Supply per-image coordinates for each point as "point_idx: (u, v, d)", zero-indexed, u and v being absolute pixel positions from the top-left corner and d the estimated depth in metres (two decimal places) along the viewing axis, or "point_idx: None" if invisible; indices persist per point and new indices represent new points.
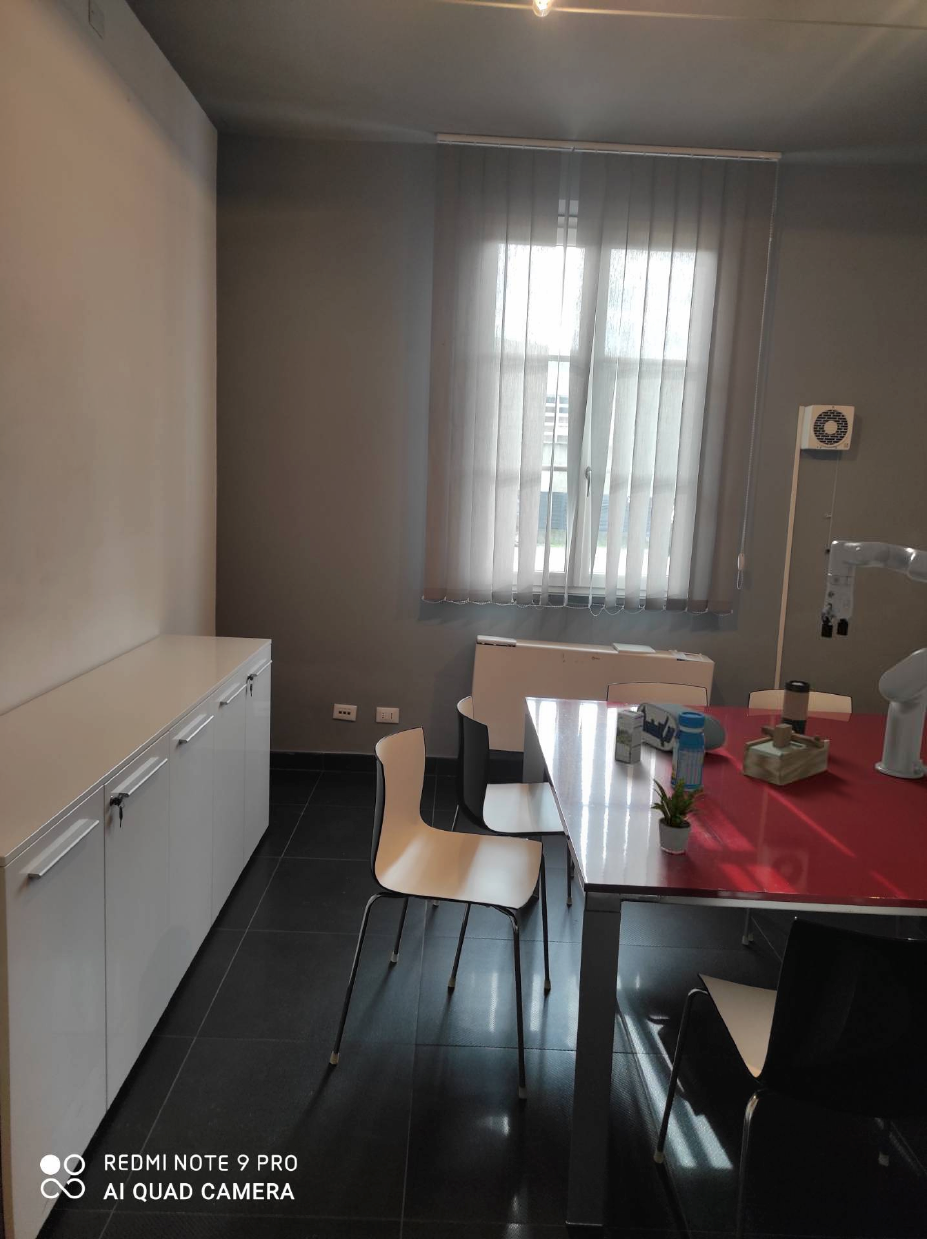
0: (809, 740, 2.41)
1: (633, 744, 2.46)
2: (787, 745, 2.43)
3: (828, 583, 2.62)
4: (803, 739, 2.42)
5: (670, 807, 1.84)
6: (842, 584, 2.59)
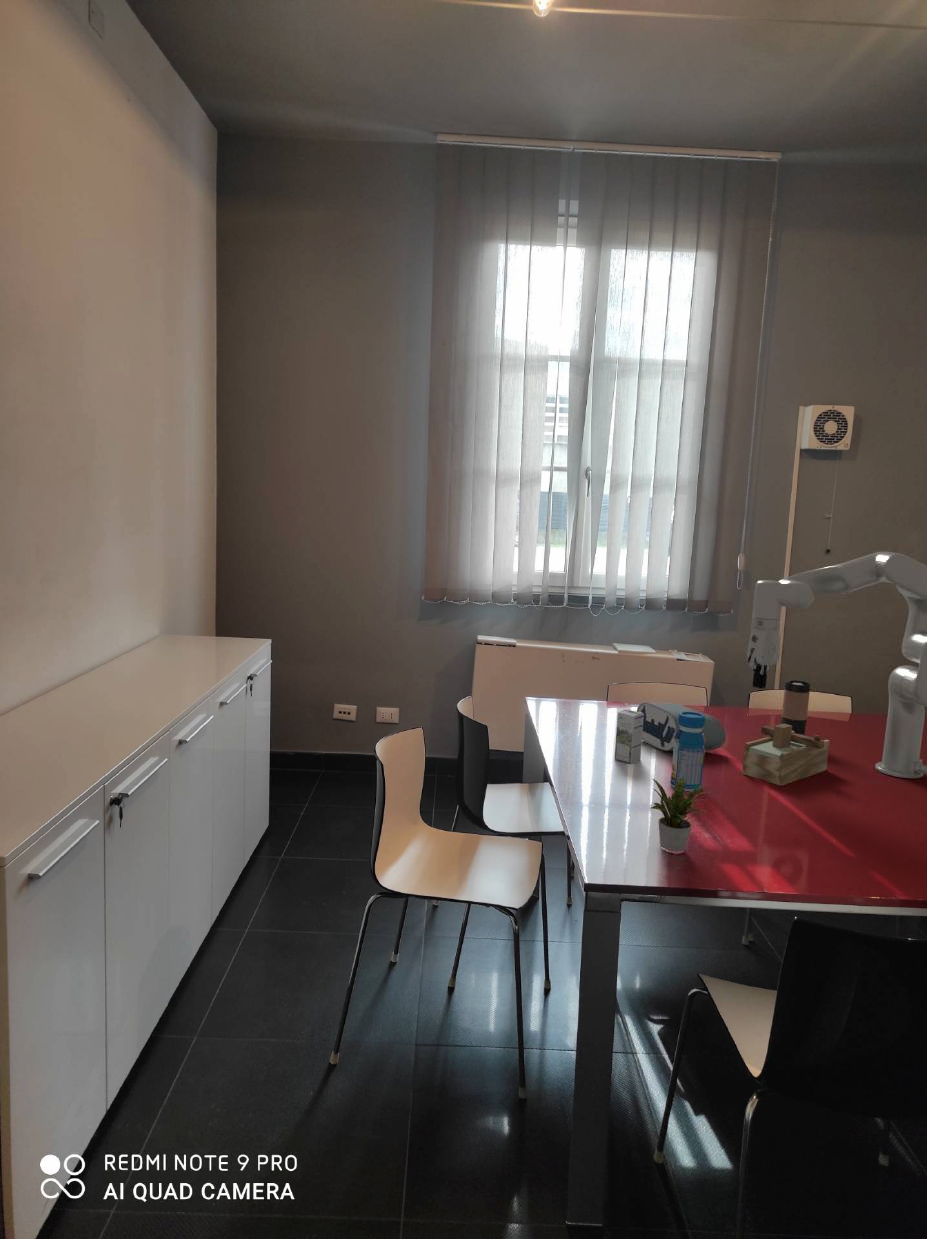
0: (809, 740, 2.41)
1: (633, 744, 2.46)
2: (787, 745, 2.43)
3: (752, 626, 2.42)
4: (803, 739, 2.42)
5: (670, 807, 1.84)
6: (766, 628, 2.39)
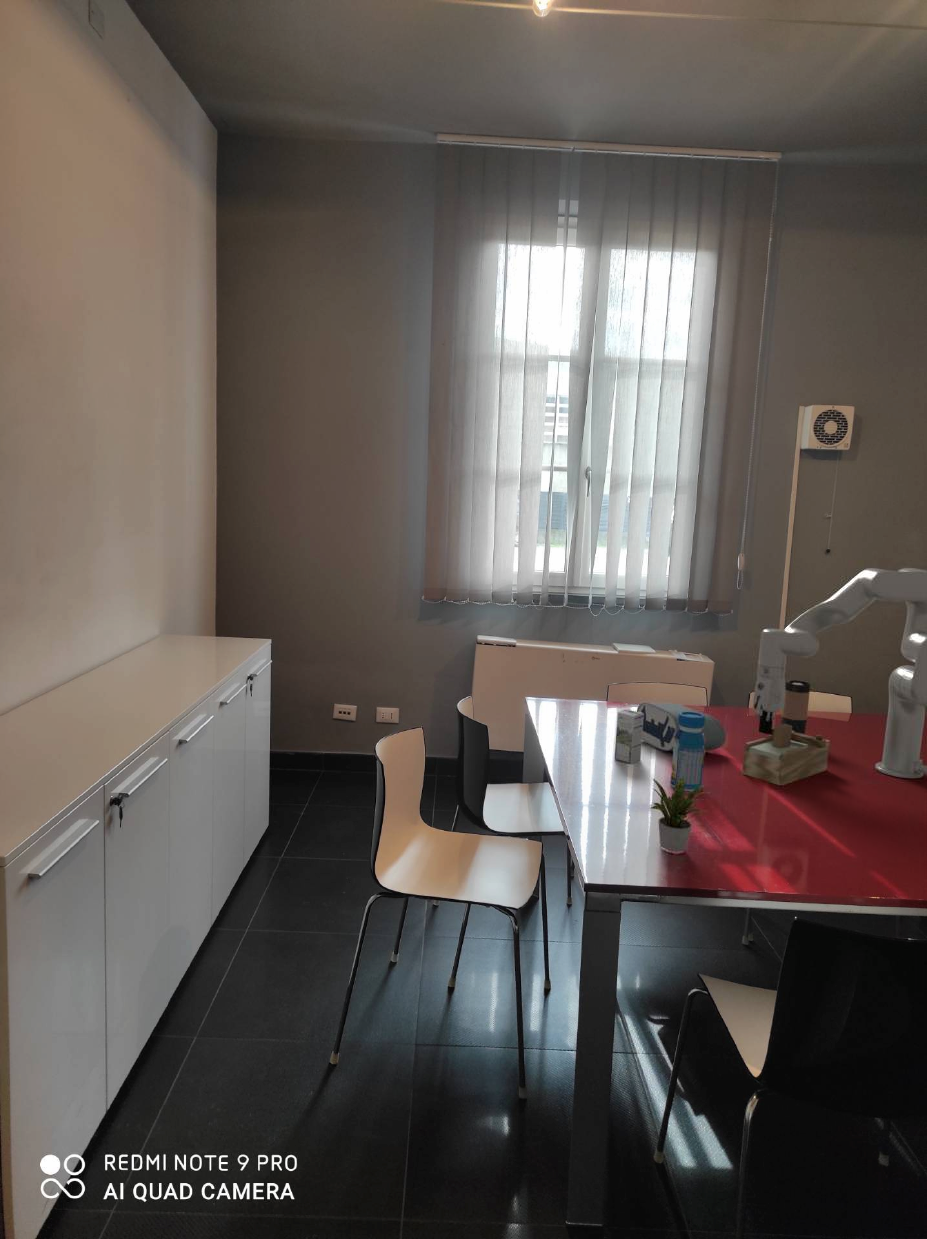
0: (811, 739, 2.42)
1: (633, 744, 2.46)
2: (787, 745, 2.43)
3: (758, 674, 2.48)
4: (805, 738, 2.43)
5: (670, 807, 1.84)
6: (772, 676, 2.45)
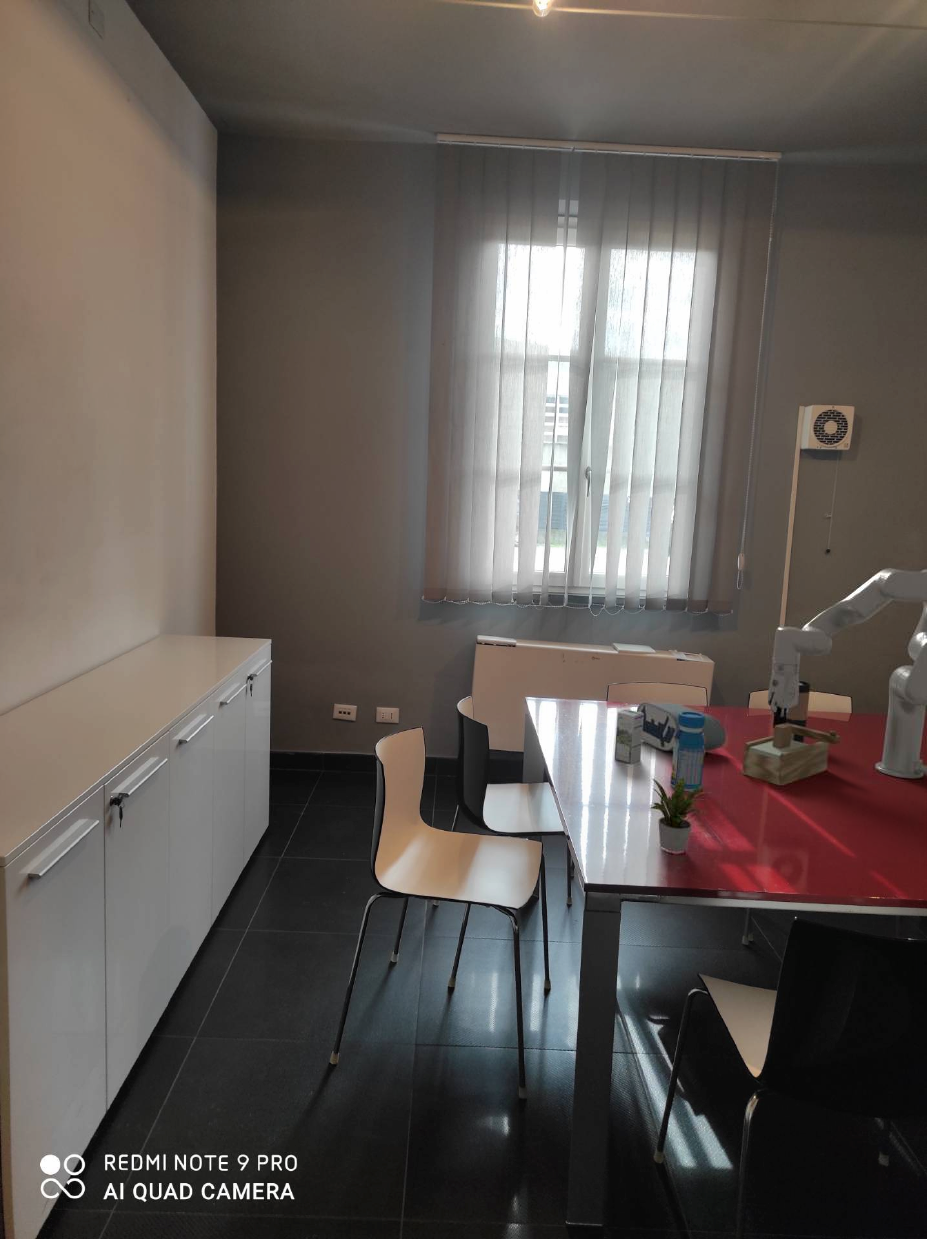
0: (825, 735, 2.47)
1: (633, 744, 2.46)
2: (787, 745, 2.43)
3: (772, 671, 2.53)
4: (819, 734, 2.48)
5: (670, 807, 1.84)
6: (786, 673, 2.50)
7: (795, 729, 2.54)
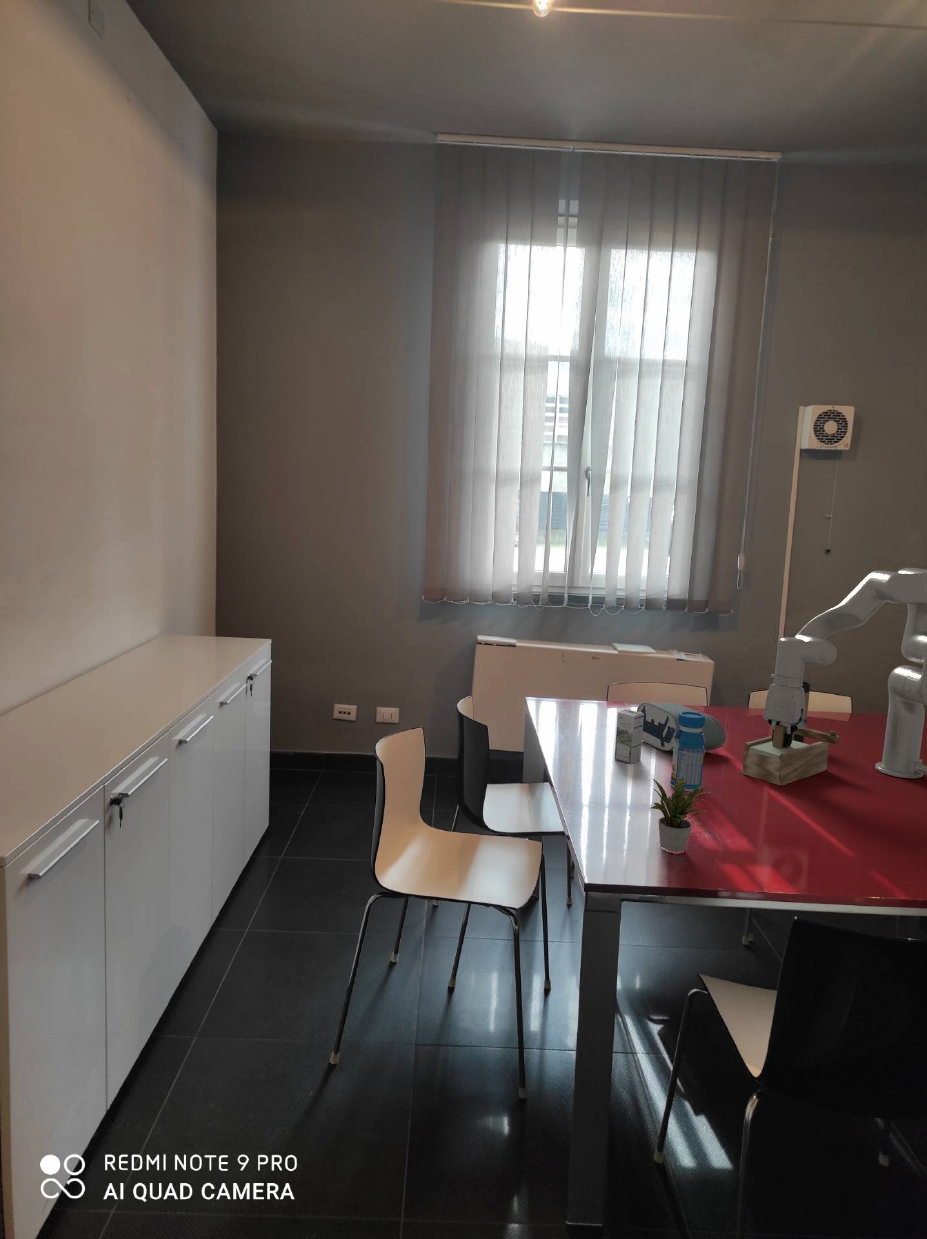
0: (825, 735, 2.47)
1: (633, 744, 2.46)
2: None
3: None
4: (819, 734, 2.48)
5: (670, 807, 1.84)
6: None
7: None
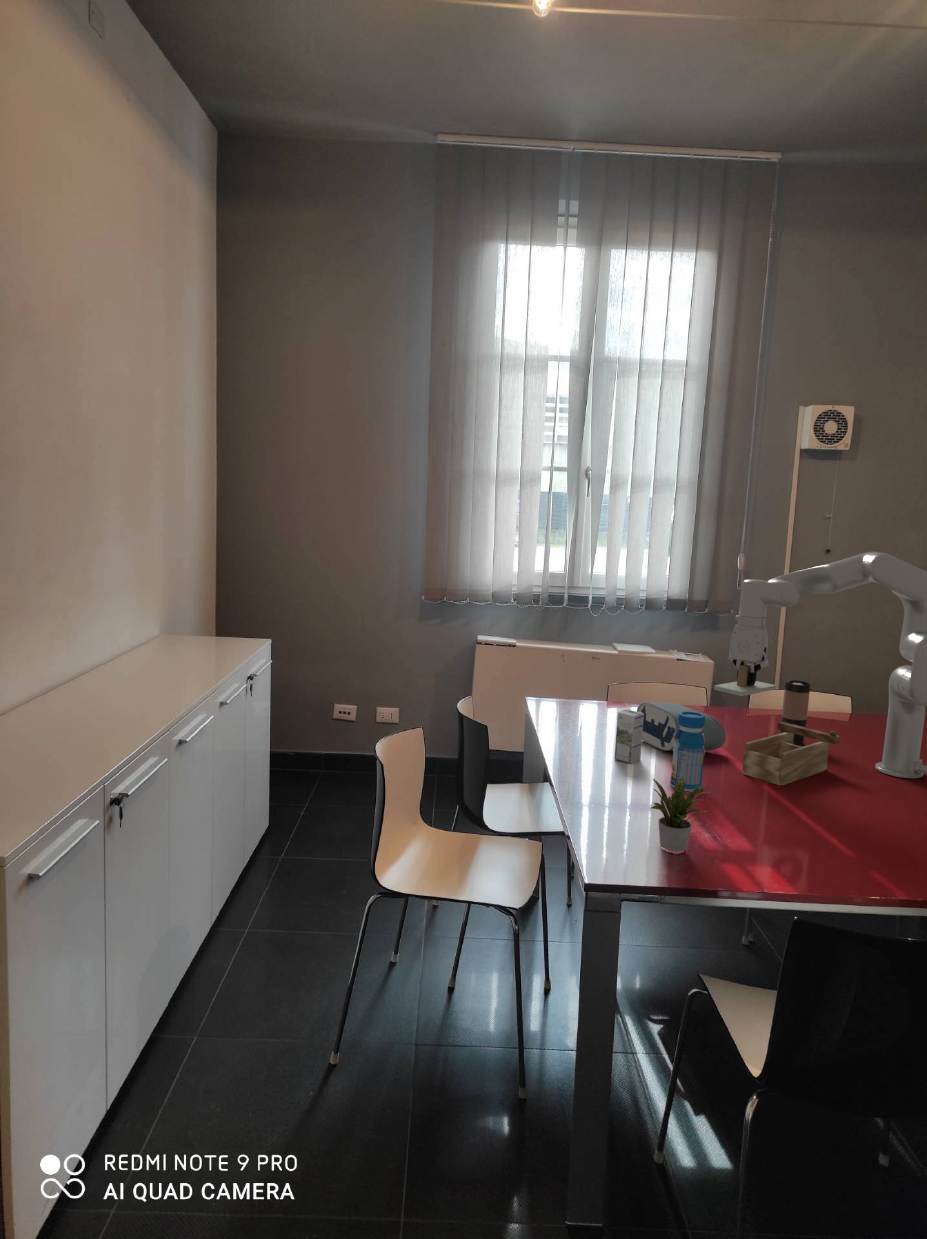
0: (825, 735, 2.47)
1: (633, 744, 2.46)
2: None
3: None
4: (819, 734, 2.48)
5: (670, 807, 1.84)
6: (738, 623, 2.49)
7: (796, 729, 2.54)
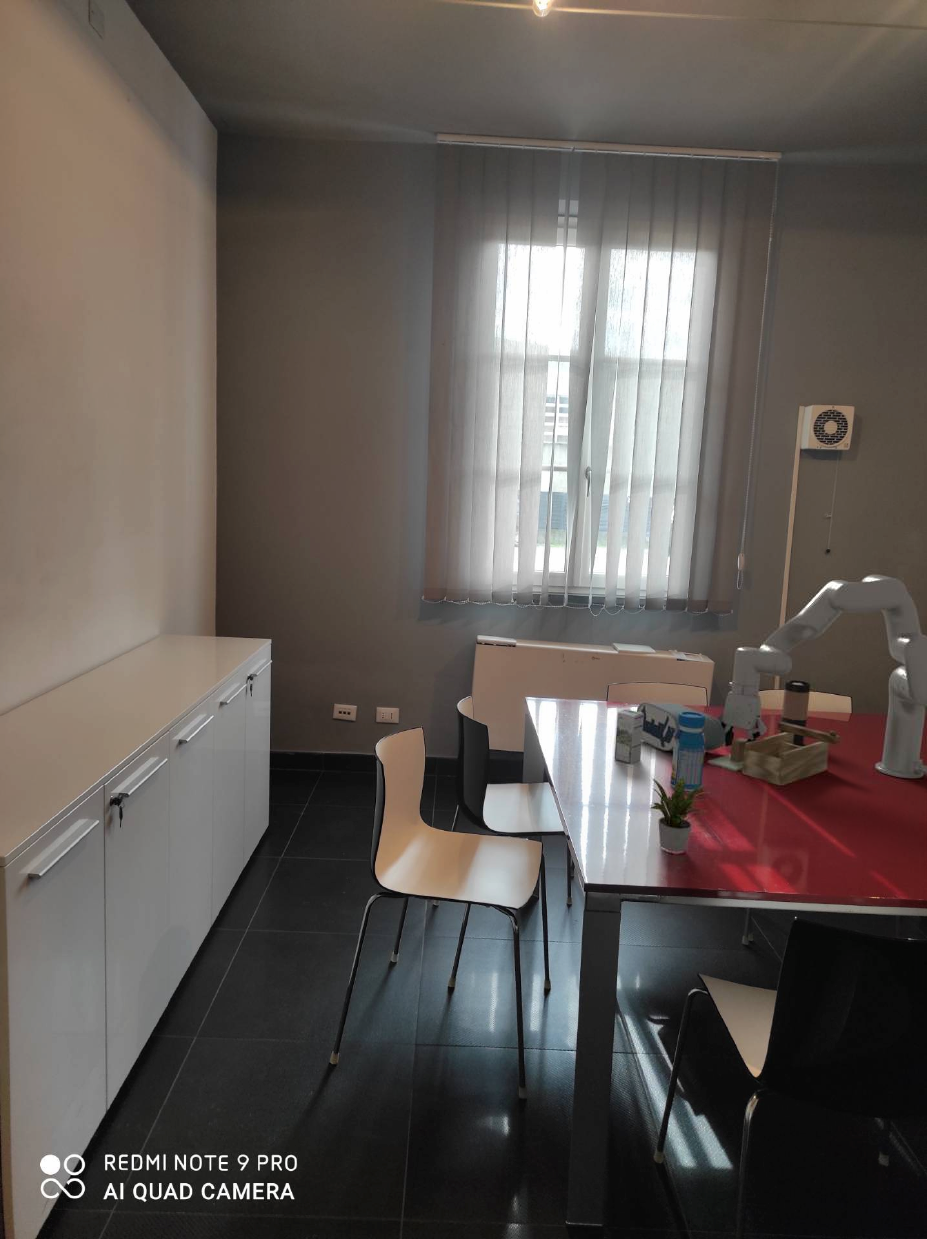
0: (825, 735, 2.47)
1: (633, 744, 2.46)
2: None
3: None
4: (819, 734, 2.48)
5: (670, 807, 1.84)
6: None
7: (796, 729, 2.54)
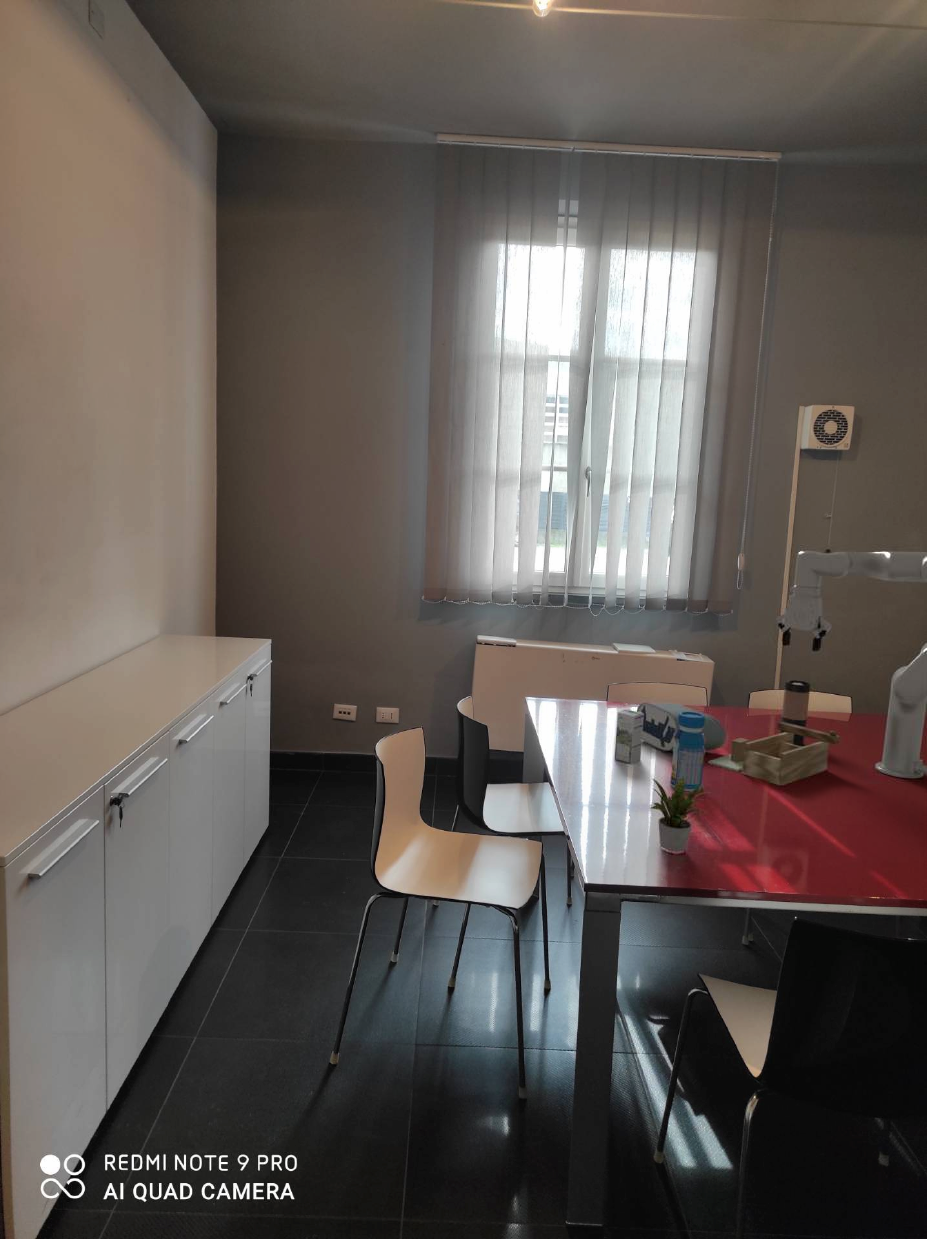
0: (825, 735, 2.47)
1: (633, 744, 2.46)
2: None
3: None
4: (819, 734, 2.48)
5: (670, 807, 1.84)
6: (793, 593, 2.59)
7: (796, 729, 2.54)
